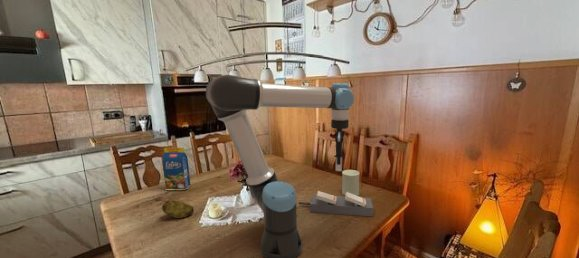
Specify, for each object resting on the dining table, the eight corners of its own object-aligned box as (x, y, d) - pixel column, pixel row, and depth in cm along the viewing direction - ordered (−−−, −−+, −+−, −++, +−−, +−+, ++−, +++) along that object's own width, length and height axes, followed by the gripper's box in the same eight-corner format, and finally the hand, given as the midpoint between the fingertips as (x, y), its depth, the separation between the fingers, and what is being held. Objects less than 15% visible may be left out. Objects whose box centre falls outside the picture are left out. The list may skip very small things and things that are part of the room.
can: (359, 197, 129) (360, 175, 127) (341, 196, 131) (341, 174, 129) (358, 189, 138) (359, 169, 136) (341, 188, 140) (341, 168, 138)
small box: (345, 199, 112) (346, 196, 111) (345, 194, 117) (346, 191, 116) (364, 207, 111) (366, 203, 110) (363, 201, 115) (365, 198, 115)
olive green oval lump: (186, 222, 110) (184, 205, 109) (160, 220, 113) (158, 203, 111) (196, 212, 119) (194, 196, 117) (171, 211, 121) (169, 195, 119)
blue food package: (171, 186, 151) (166, 146, 146) (190, 186, 150) (186, 146, 145) (165, 191, 145) (160, 149, 140) (185, 191, 144) (181, 149, 139)
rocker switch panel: (297, 211, 117) (297, 200, 116) (300, 201, 126) (300, 191, 126) (373, 216, 110) (373, 205, 109) (370, 205, 120) (370, 195, 119)
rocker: (316, 198, 114) (317, 195, 114) (317, 193, 119) (318, 190, 119) (335, 204, 113) (336, 201, 113) (335, 199, 118) (336, 196, 118)
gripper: (348, 121, 102) (346, 176, 106) (348, 117, 114) (347, 166, 118) (330, 120, 104) (329, 174, 108) (332, 117, 116) (331, 165, 120)
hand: (338, 170), depth 113 cm, fingers closed
